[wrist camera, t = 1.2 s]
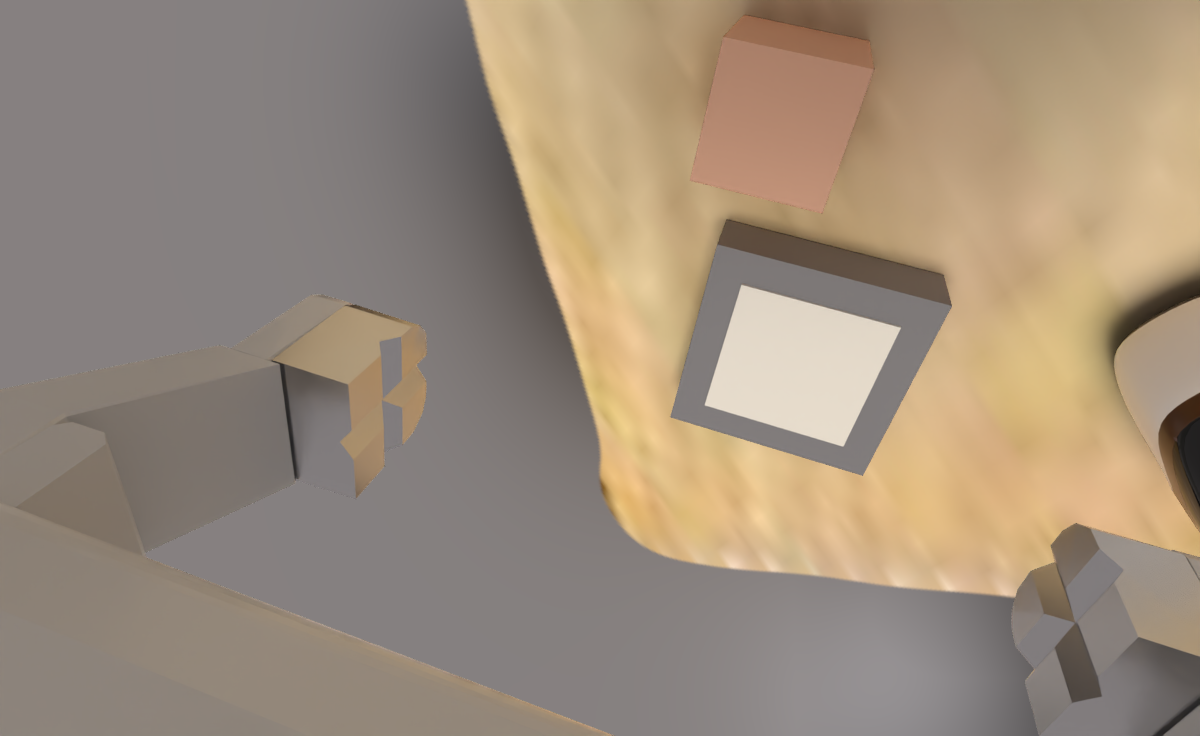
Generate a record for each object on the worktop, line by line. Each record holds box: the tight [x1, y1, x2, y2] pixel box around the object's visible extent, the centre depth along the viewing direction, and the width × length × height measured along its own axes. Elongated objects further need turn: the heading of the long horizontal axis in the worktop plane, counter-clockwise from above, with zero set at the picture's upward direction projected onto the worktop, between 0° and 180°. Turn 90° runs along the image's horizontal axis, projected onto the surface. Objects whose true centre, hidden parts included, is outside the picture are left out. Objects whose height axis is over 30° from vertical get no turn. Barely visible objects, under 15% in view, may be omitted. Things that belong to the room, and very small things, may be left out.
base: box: [671, 220, 952, 476], centre depth 33 cm, size 10×10×3 cm
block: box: [690, 15, 874, 213], centre depth 26 cm, size 5×5×6 cm
